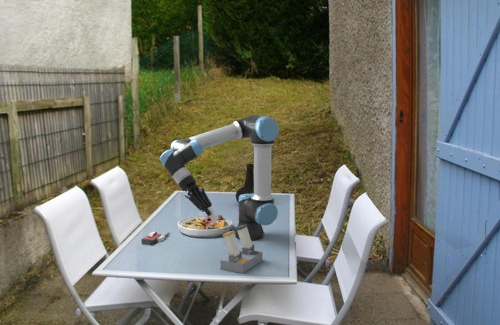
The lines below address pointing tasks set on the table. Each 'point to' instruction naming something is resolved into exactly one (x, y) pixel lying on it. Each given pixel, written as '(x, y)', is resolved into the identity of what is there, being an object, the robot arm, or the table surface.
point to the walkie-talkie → (153, 238)
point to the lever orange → (231, 244)
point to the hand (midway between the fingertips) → (216, 220)
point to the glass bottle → (247, 183)
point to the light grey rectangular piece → (244, 237)
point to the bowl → (204, 226)
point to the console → (242, 260)
